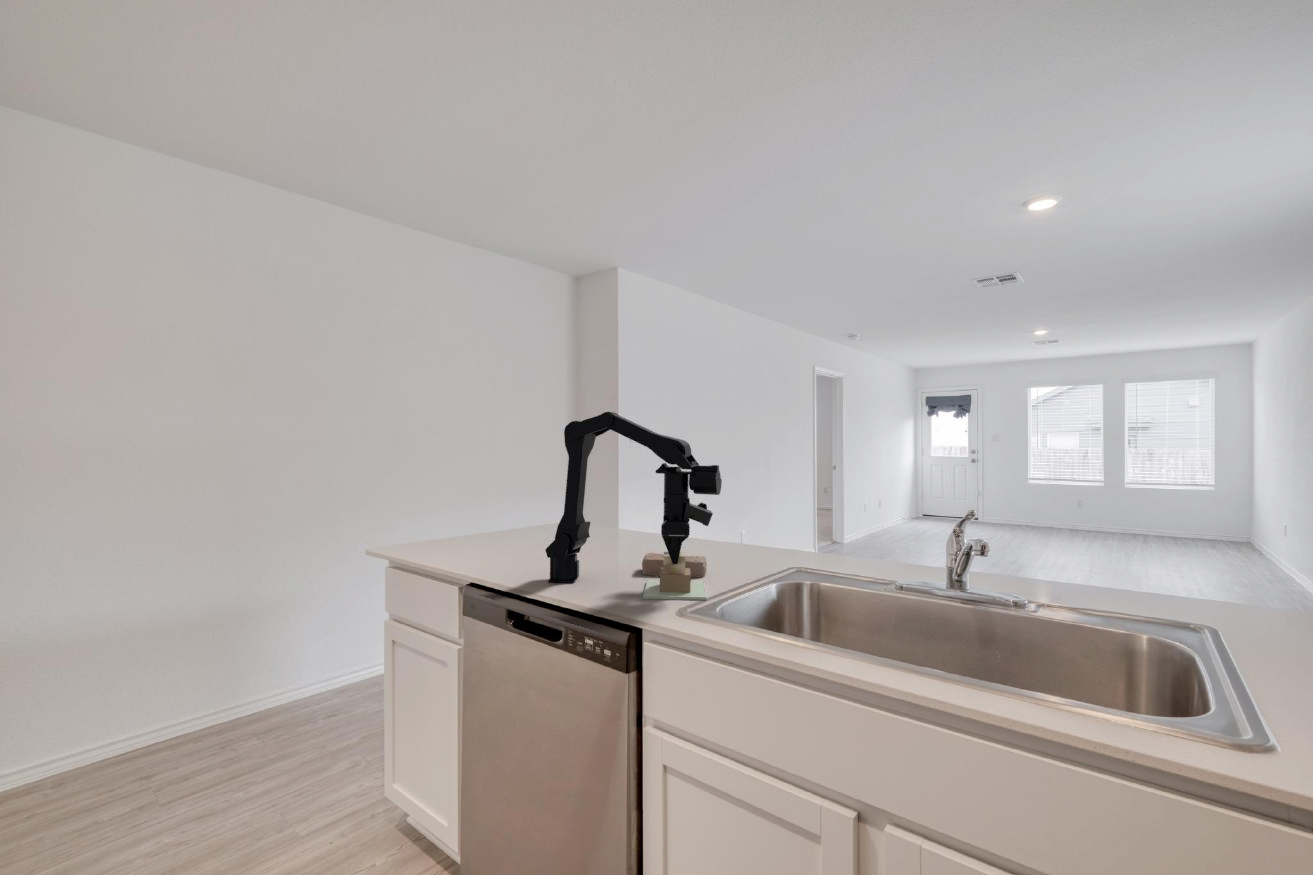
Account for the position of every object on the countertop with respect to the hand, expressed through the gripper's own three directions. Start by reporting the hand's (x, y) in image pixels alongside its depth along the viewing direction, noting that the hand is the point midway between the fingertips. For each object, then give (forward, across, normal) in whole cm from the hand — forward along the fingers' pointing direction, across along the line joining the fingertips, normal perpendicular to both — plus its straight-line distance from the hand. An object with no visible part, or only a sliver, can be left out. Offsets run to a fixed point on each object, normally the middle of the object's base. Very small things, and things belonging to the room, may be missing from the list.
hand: (675, 559), depth 135 cm
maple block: (+3, 0, 0) cm, 3 cm away
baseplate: (+7, 0, 0) cm, 7 cm away
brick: (+8, +19, 0) cm, 20 cm away
